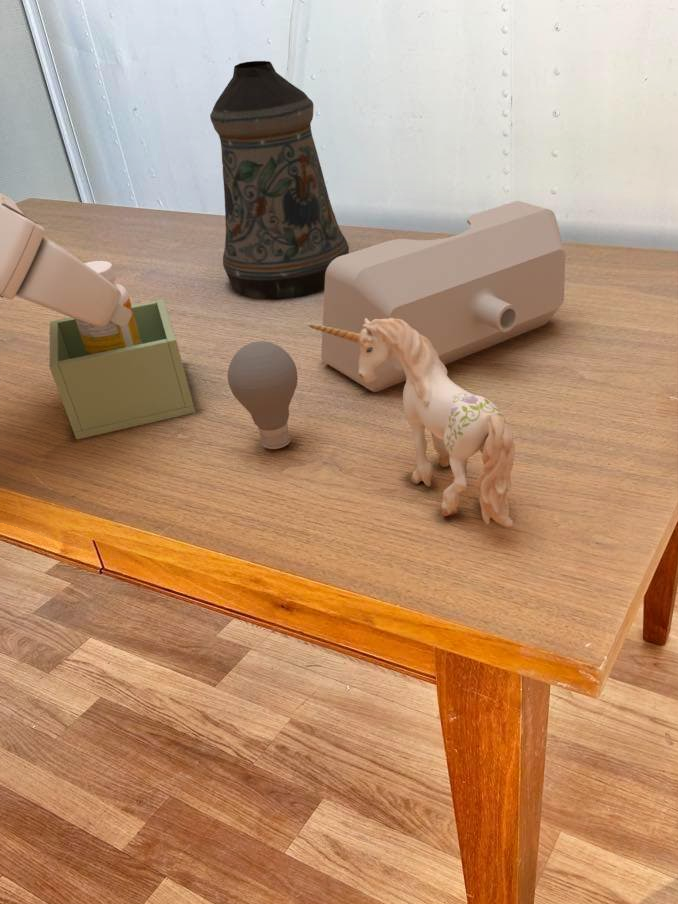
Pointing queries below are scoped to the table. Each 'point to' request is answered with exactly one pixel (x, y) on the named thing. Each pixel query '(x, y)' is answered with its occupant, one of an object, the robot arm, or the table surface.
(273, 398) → the light bulb
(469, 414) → the unicorn figurine
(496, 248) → the tank
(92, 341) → the supplement bottle
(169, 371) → the bin
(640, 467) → the table surface
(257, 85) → the brown decorated vase
